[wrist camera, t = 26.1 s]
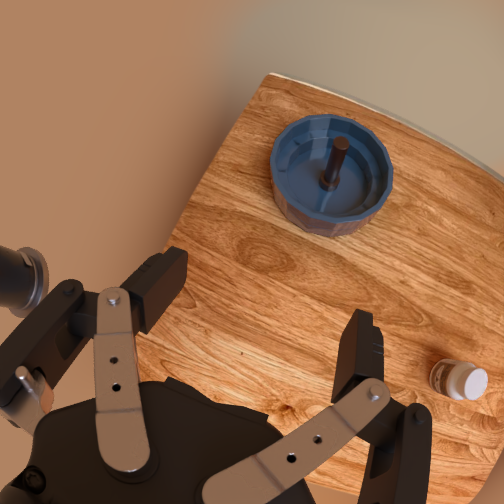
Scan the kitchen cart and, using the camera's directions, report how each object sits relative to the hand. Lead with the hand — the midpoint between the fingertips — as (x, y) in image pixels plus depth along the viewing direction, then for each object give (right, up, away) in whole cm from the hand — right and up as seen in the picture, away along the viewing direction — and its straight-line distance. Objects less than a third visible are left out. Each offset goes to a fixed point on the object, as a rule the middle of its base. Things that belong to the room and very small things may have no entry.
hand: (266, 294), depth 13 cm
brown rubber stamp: (+9, +10, +22) cm, 26 cm away
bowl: (+9, +10, +22) cm, 26 cm away
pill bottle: (+23, -13, +16) cm, 31 cm away
